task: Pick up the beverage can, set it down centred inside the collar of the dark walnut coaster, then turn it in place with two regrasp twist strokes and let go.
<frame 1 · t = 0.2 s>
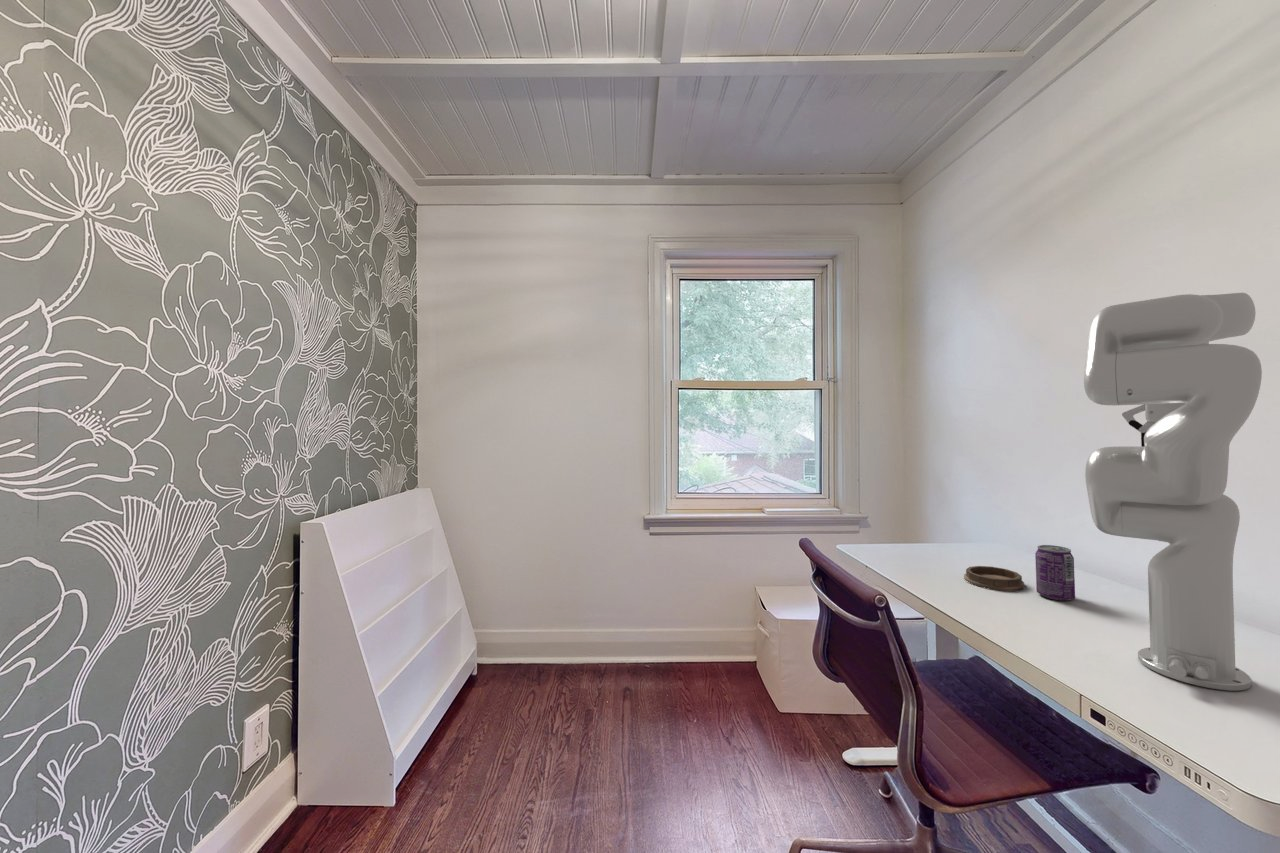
hand: (1183, 451, 96), 36 cm above the table, tool pointing down, fingers open, 9 cm apart
beverage can: (1055, 597, 115), on the table
walnut coaster: (993, 582, 126), on the table
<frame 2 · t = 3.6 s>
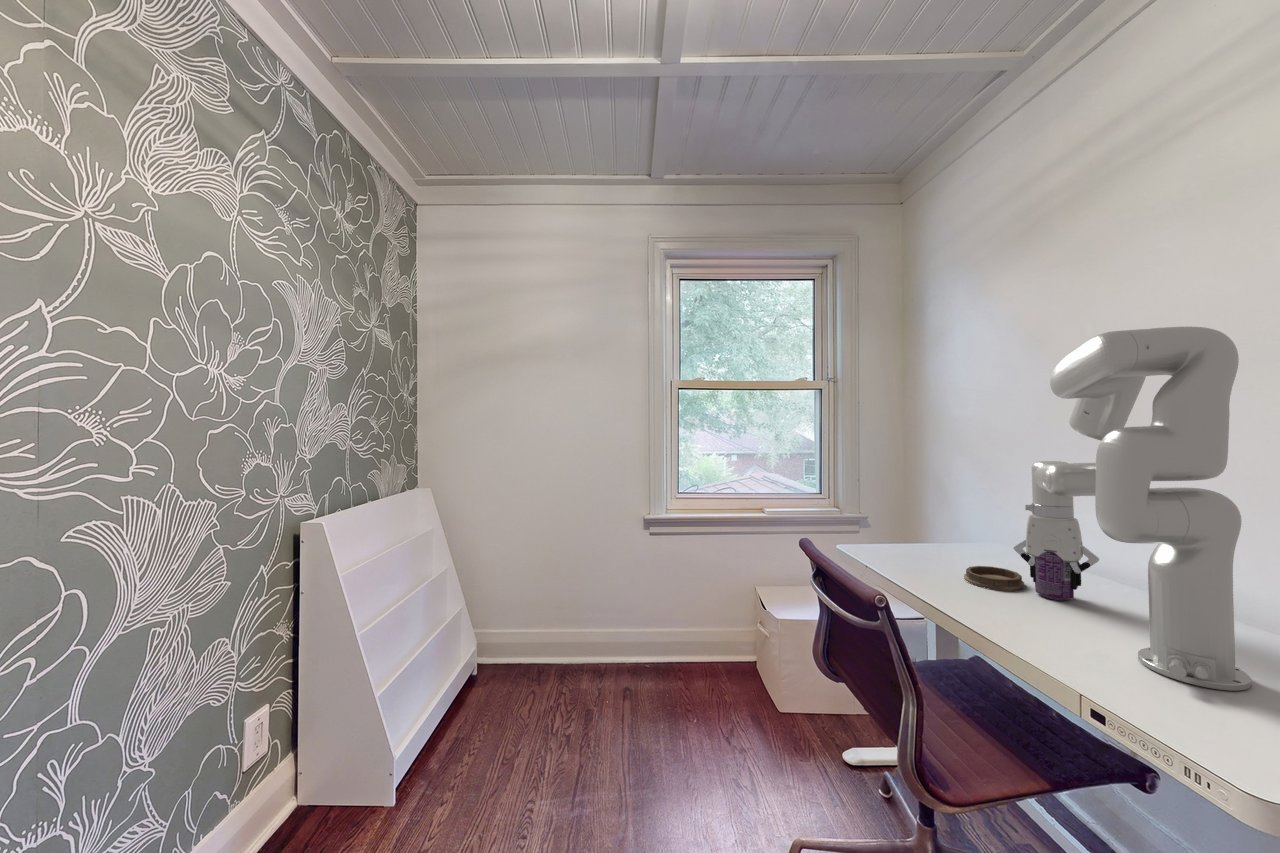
hand: (1055, 583, 115), 3 cm above the table, tool pointing down, fingers closed on beverage can, 6 cm apart
beverage can: (1054, 597, 115), on the table, touching gripper
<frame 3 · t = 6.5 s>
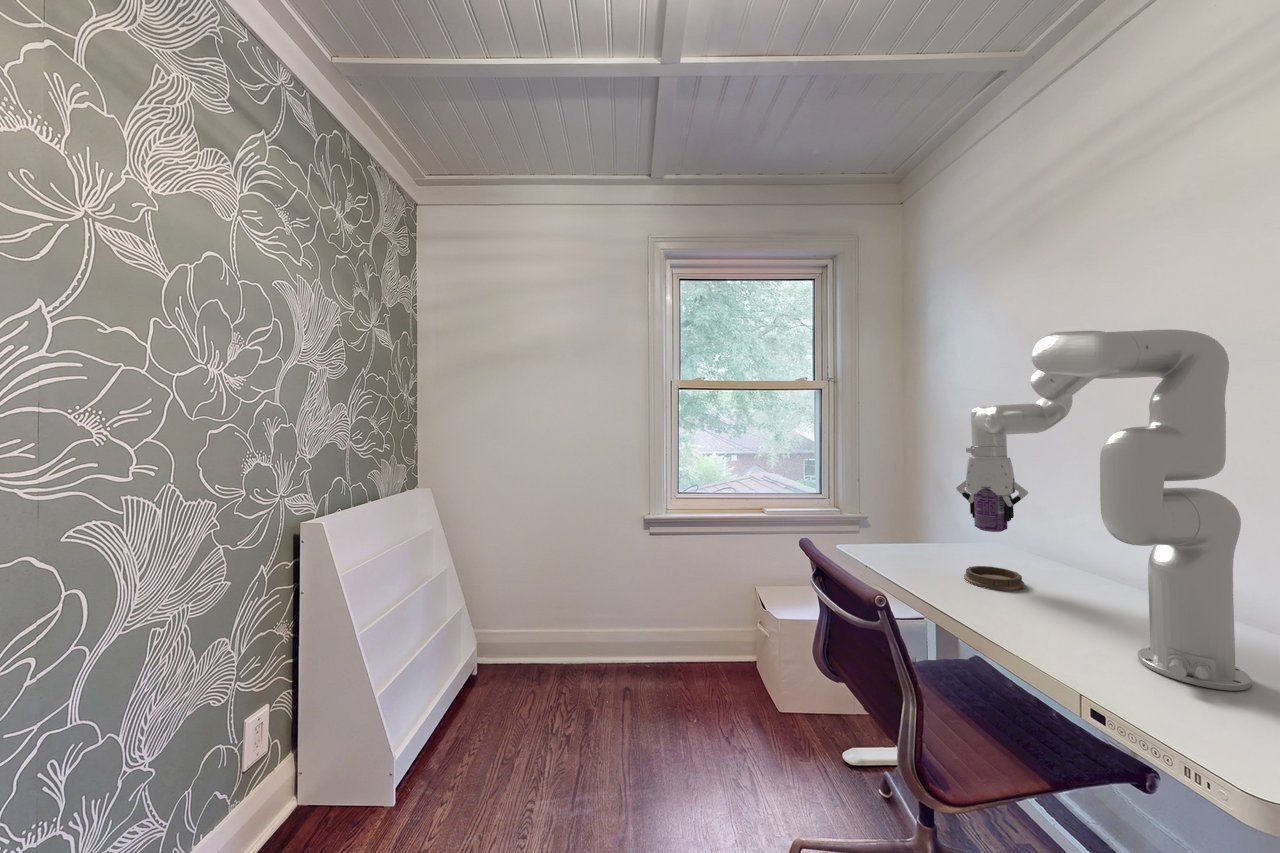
hand: (991, 518, 126), 17 cm above the table, tool pointing down, fingers closed on beverage can, 6 cm apart
beverage can: (990, 530, 126), point 14 cm above the table, touching gripper
when the fingers open (5 cm above the table, at t = 9.2 s): beverage can stays where it is, resting on walnut coaster.
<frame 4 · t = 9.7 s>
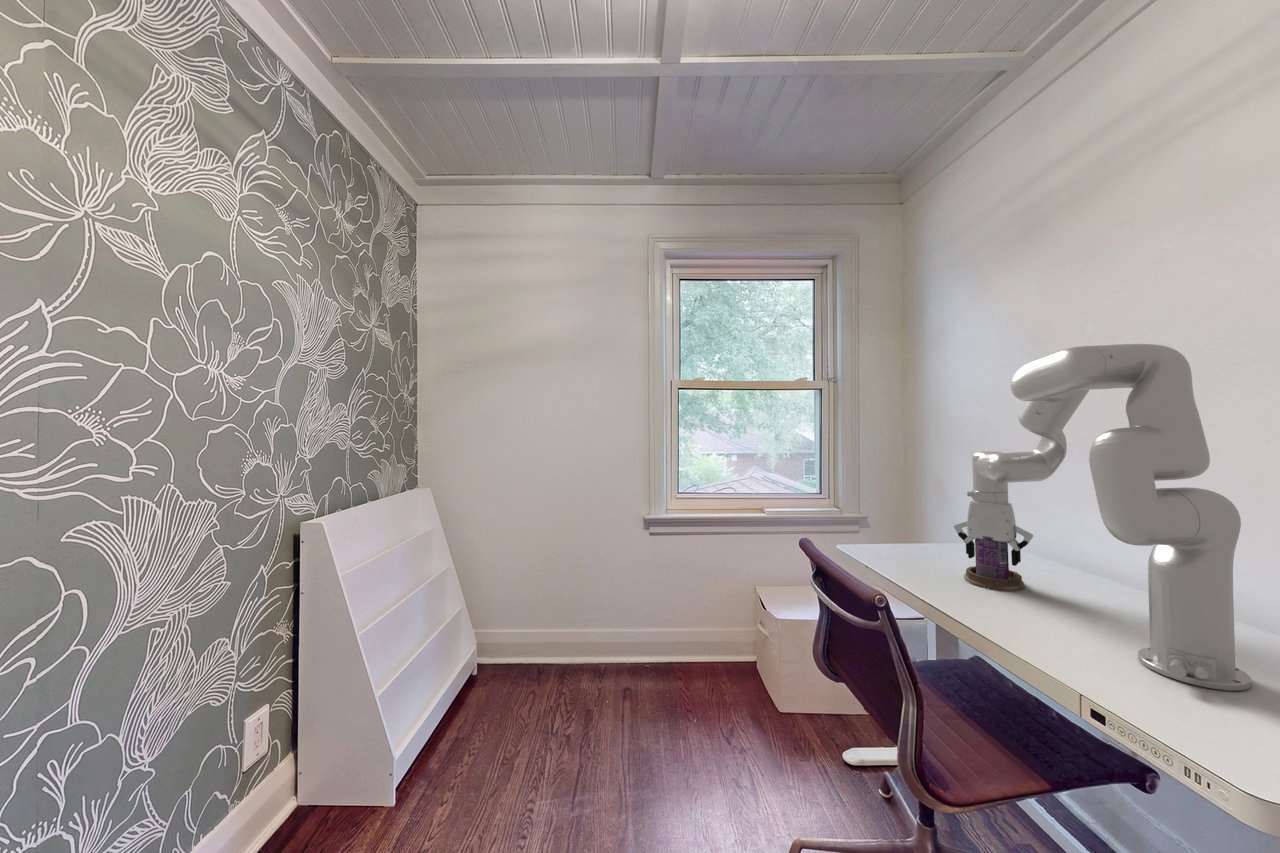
hand: (992, 560, 126), 6 cm above the table, tool pointing down, fingers open, 9 cm apart
beverage can: (992, 579, 126), point 1 cm above the table, touching walnut coaster
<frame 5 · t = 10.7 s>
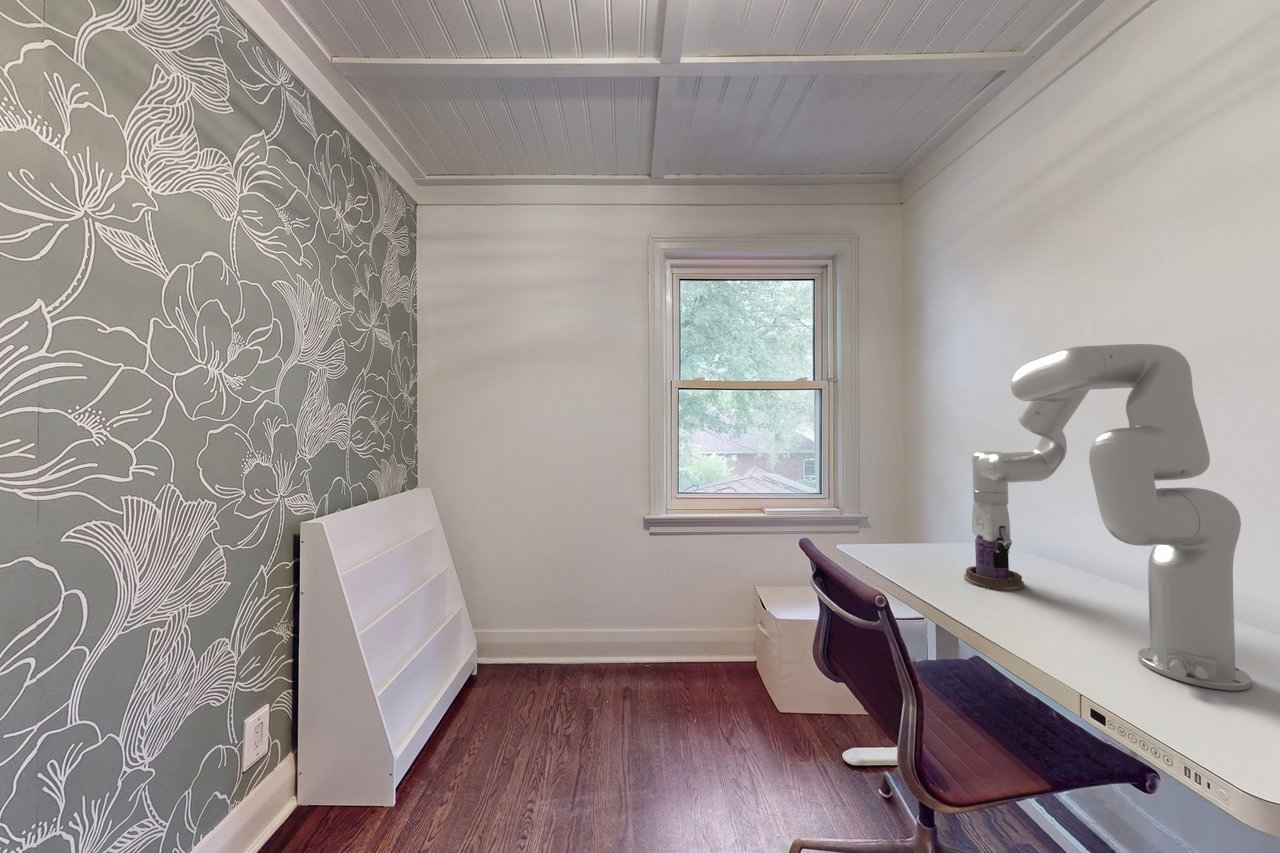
hand: (992, 562, 126), 5 cm above the table, tool pointing down, fingers closed on beverage can, 6 cm apart
beverage can: (992, 579, 126), point 1 cm above the table, touching gripper, walnut coaster
when the fingers open (5 cm above the table, at t = 14.9 s): beverage can stays where it is, resting on walnut coaster.
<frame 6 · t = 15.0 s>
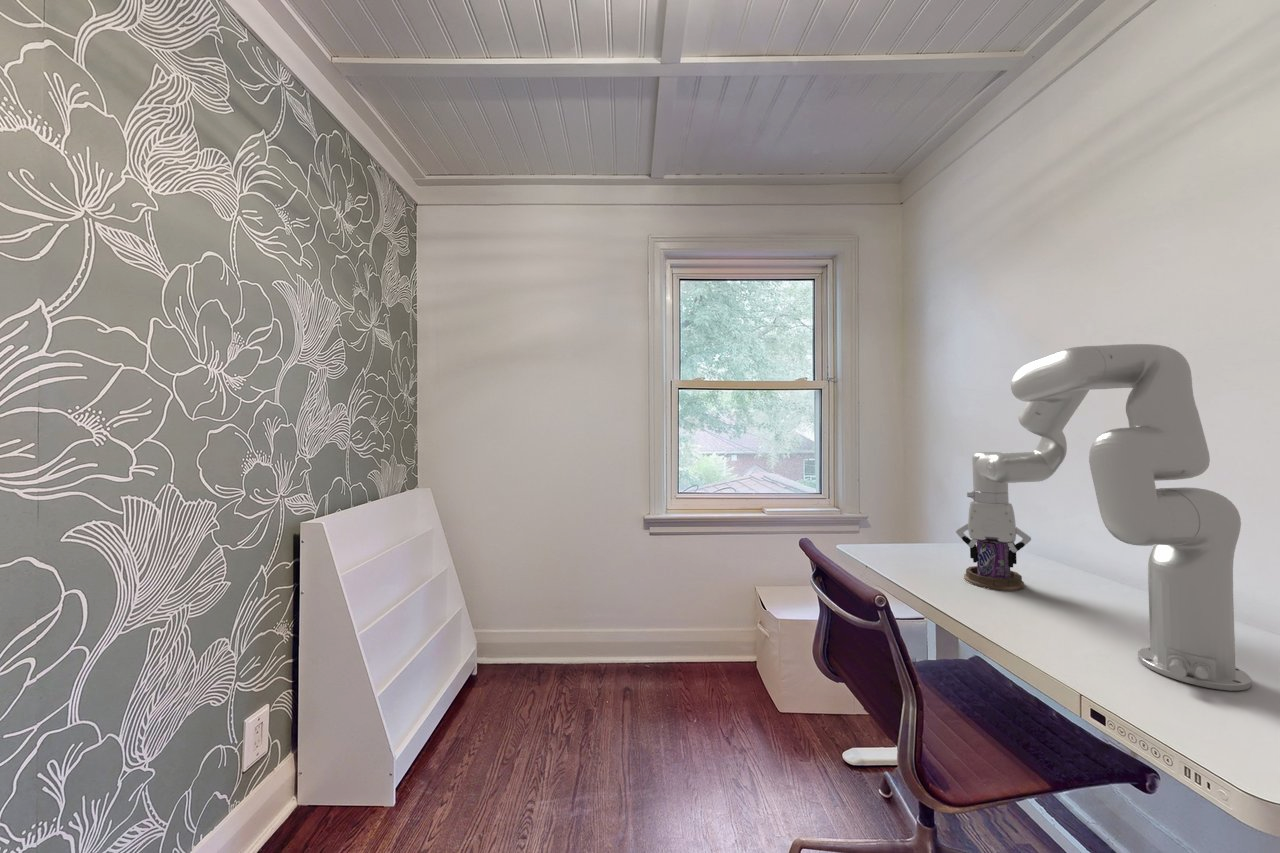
hand: (993, 563, 126), 5 cm above the table, tool pointing down, fingers open, 7 cm apart
beverage can: (993, 580, 126), point 1 cm above the table, touching walnut coaster
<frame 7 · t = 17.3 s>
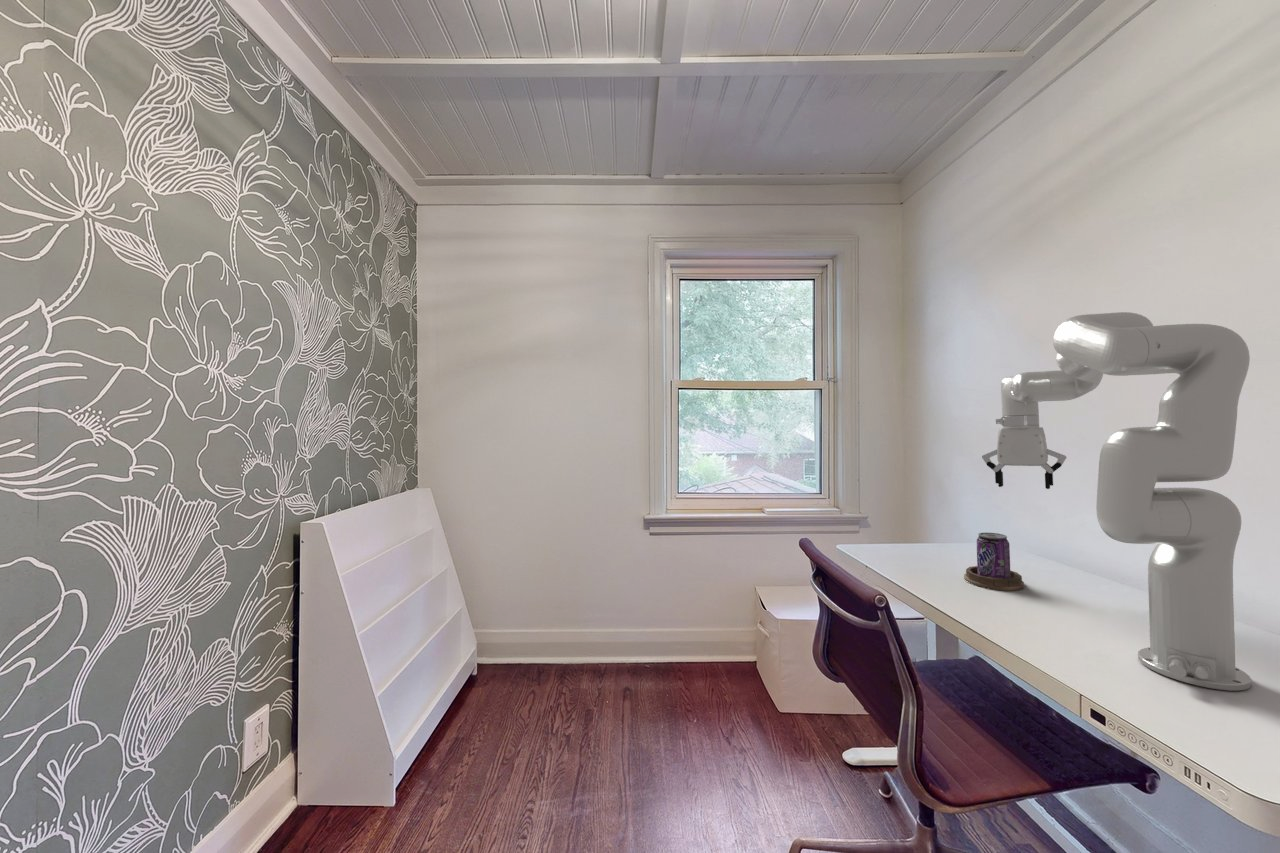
hand: (1023, 487, 124), 26 cm above the table, tool pointing down, fingers open, 9 cm apart
nothing on the table moved.
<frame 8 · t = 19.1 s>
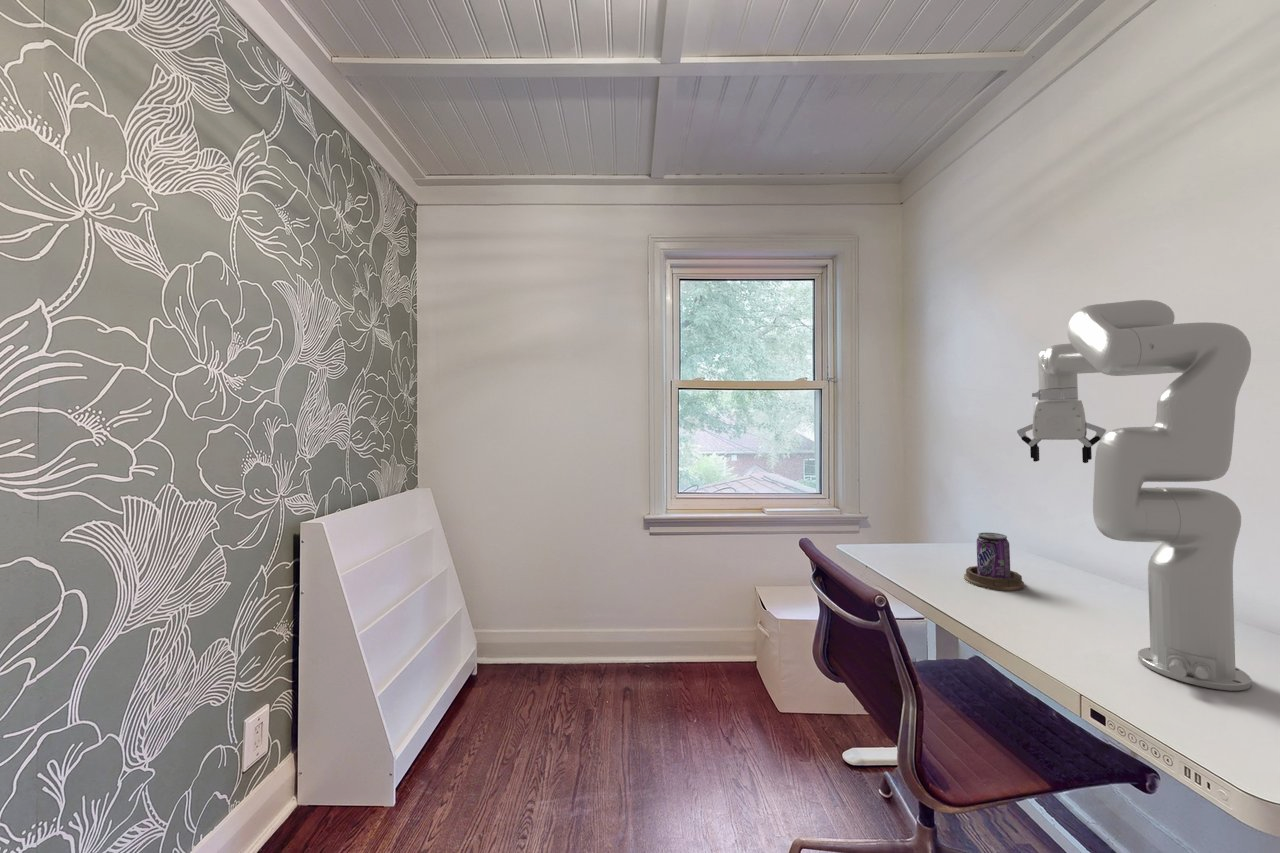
hand: (1060, 461, 122), 32 cm above the table, tool pointing down, fingers open, 9 cm apart
nothing on the table moved.
at the end: beverage can 0.3 cm from the walnut coaster (horizontally); beverage can tilted 0°; the gripper is holding nothing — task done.
